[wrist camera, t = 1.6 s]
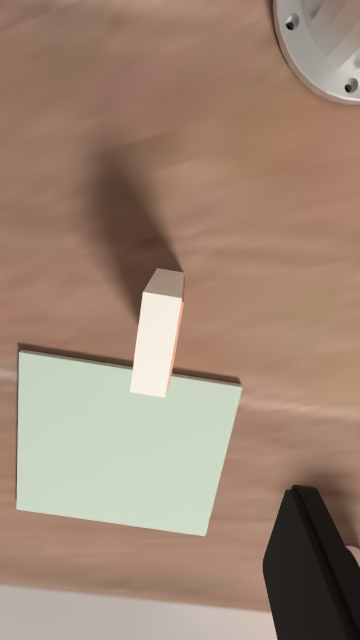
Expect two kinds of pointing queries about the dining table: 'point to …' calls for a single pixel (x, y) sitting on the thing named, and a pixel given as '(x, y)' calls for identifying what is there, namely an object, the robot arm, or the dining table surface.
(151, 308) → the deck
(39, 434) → the mat
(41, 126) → the dining table surface
